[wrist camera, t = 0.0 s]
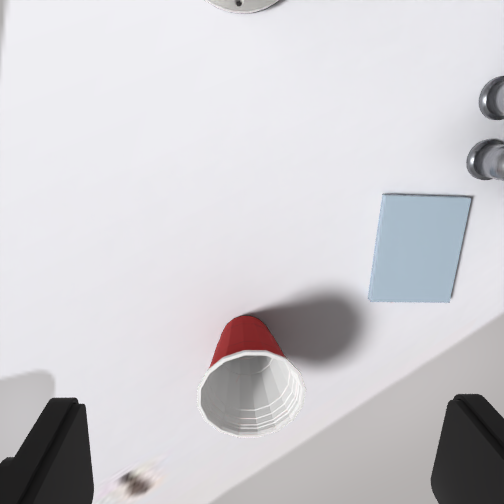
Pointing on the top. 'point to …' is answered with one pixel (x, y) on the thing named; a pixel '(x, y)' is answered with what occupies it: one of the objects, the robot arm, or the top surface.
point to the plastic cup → (249, 383)
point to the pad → (417, 248)
